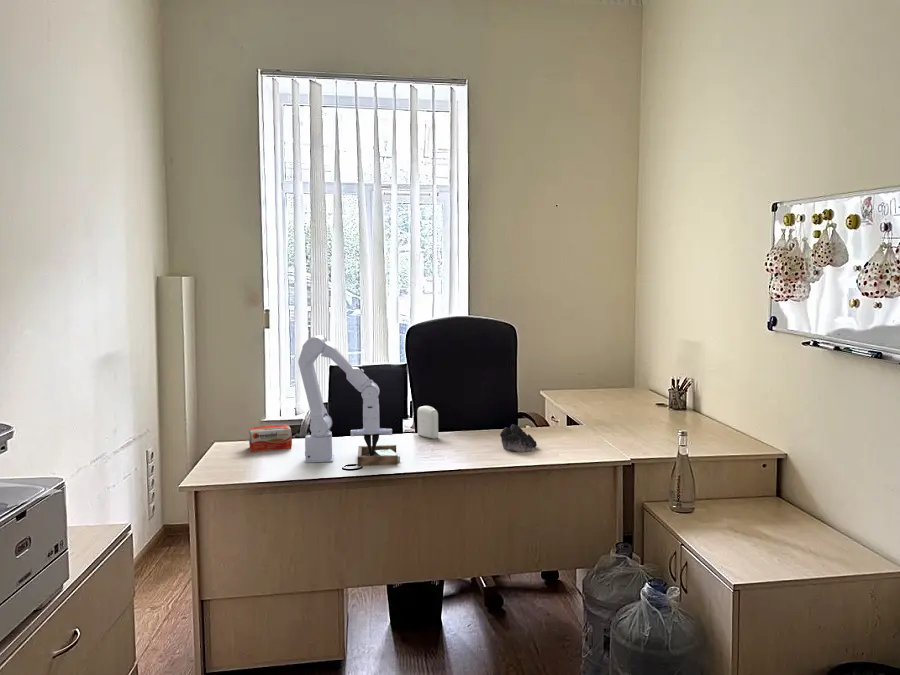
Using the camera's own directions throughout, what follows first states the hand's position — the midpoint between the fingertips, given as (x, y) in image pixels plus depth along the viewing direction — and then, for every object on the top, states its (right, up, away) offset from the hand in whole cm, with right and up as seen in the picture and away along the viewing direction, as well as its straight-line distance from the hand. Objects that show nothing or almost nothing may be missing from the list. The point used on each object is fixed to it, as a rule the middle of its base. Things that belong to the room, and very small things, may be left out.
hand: (371, 455), depth 248 cm
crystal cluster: (+54, 0, +15) cm, 56 cm away
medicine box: (-40, -1, +17) cm, 44 cm away
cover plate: (+5, -2, +1) cm, 6 cm away
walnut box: (+2, -1, 0) cm, 3 cm away
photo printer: (+19, +2, +34) cm, 39 cm away
